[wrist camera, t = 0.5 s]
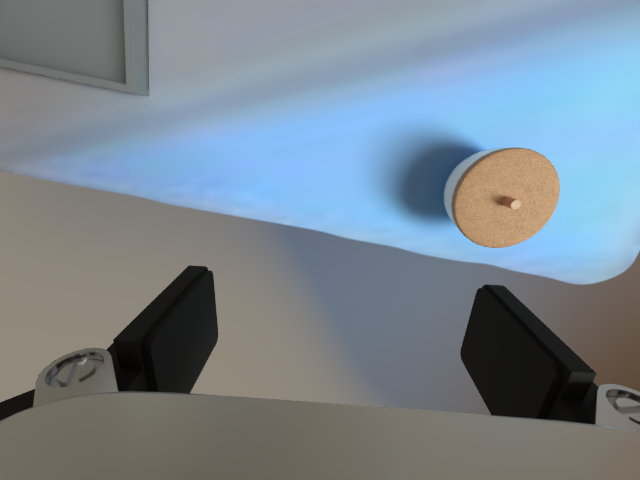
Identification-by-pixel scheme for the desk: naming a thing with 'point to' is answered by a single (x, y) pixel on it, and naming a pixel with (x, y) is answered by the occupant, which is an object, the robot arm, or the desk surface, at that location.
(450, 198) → the lidded jar
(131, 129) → the desk surface
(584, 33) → the desk surface
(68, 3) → the tray
